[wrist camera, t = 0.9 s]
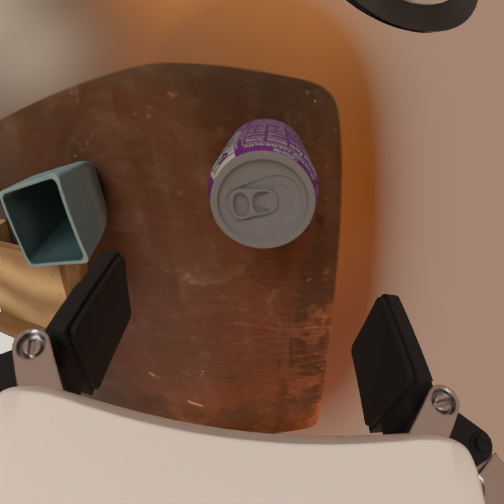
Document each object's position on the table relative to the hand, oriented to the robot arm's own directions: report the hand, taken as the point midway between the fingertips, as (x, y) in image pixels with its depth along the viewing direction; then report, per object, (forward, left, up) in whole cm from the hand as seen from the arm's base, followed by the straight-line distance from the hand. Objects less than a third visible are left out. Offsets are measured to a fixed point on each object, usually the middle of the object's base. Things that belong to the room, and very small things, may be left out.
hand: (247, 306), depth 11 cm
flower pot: (+6, -19, -21) cm, 29 cm away
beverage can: (0, 0, -21) cm, 21 cm away
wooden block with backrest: (+19, -28, -20) cm, 40 cm away
